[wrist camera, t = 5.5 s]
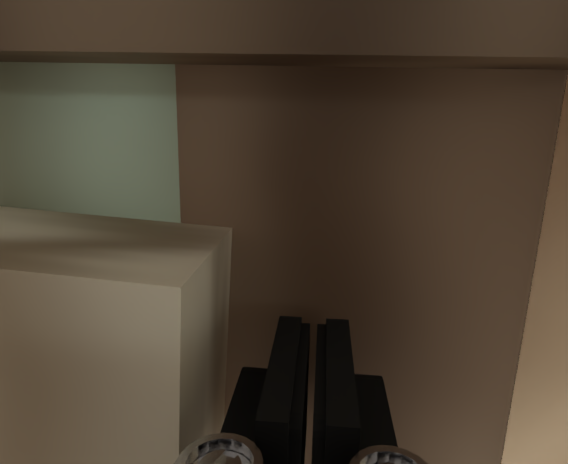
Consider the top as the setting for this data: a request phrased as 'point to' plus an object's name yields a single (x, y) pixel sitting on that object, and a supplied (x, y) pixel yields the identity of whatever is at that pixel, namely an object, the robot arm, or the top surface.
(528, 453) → the top surface
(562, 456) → the top surface
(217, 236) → the birch block
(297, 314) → the lane deck
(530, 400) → the top surface
